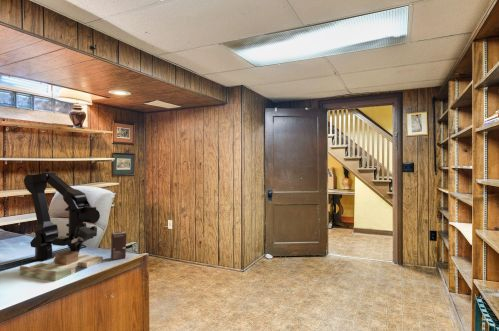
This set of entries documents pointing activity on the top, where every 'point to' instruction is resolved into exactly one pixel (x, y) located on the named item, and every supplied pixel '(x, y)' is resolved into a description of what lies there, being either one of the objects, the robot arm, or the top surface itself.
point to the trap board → (59, 268)
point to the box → (118, 245)
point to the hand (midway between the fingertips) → (75, 256)
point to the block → (66, 257)
